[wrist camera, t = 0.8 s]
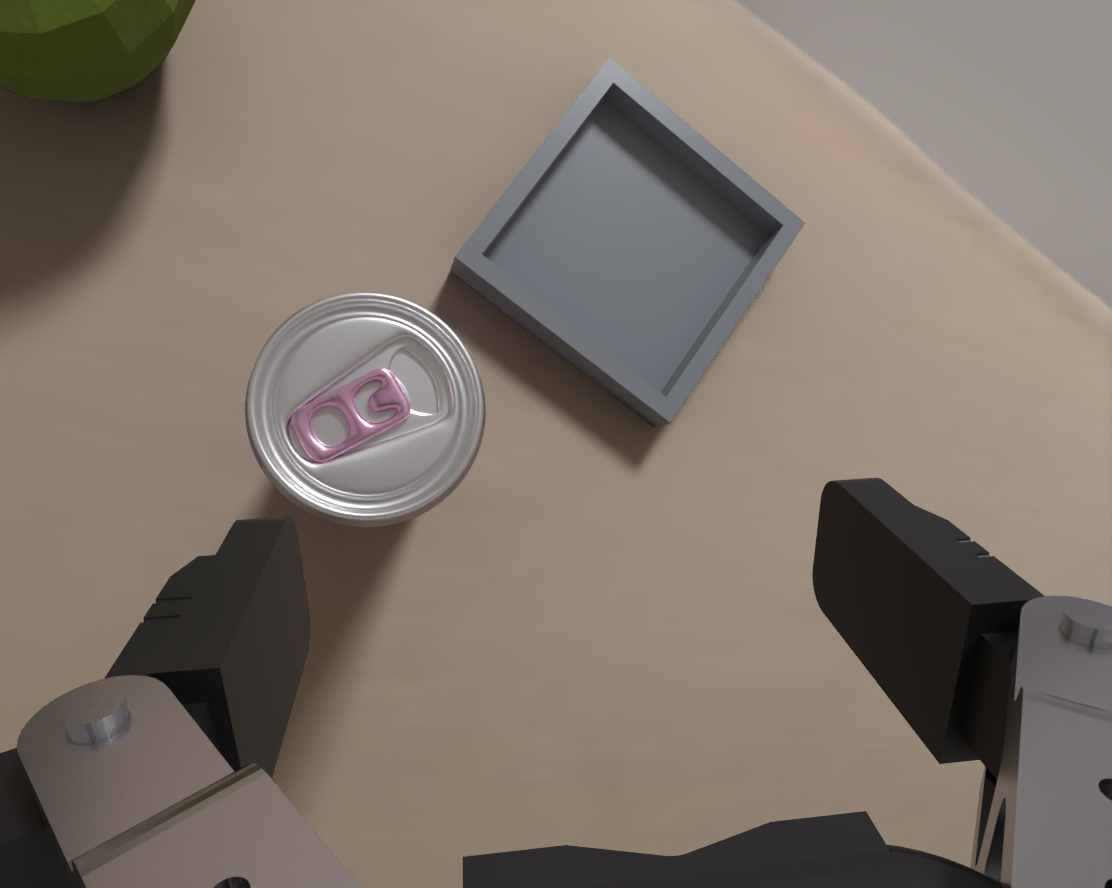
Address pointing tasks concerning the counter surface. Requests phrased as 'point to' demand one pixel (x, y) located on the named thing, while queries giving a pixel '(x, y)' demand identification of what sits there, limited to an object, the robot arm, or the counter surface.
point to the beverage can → (365, 409)
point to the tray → (629, 245)
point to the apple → (84, 45)
